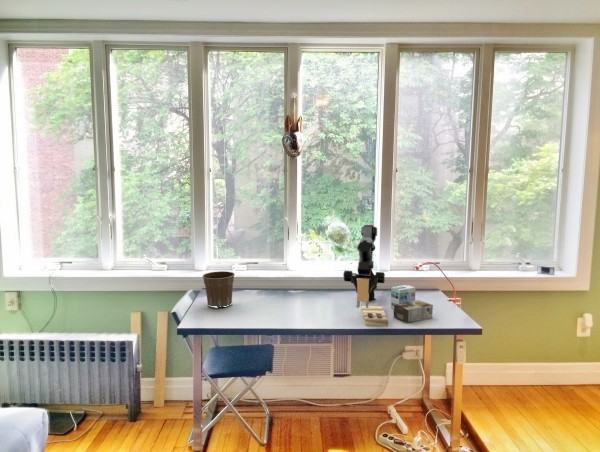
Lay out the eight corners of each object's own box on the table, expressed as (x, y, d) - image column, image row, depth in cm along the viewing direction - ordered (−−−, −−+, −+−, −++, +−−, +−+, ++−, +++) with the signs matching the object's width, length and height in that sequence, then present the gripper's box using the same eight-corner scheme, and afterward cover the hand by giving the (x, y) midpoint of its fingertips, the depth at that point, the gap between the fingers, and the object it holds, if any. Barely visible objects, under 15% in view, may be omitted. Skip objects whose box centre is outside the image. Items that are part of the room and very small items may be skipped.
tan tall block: (357, 304, 197) (358, 278, 196) (368, 305, 196) (369, 278, 195) (356, 307, 193) (357, 280, 192) (368, 307, 192) (368, 280, 191)
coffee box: (418, 312, 207) (392, 317, 199) (419, 299, 206) (393, 304, 199) (432, 317, 199) (406, 323, 192) (433, 304, 198) (407, 309, 191)
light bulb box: (399, 311, 209) (399, 290, 207) (390, 307, 214) (390, 286, 213) (415, 308, 213) (416, 287, 212) (406, 304, 219) (407, 284, 218)
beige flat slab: (360, 309, 211) (360, 304, 211) (381, 310, 211) (381, 305, 210) (365, 325, 189) (365, 320, 189) (387, 325, 189) (387, 320, 188)
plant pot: (196, 307, 215) (195, 276, 214) (214, 299, 230) (213, 270, 228) (224, 311, 209) (223, 279, 207) (241, 302, 224) (240, 272, 222)
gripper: (343, 253, 198) (340, 282, 188) (384, 255, 194) (383, 285, 184) (345, 266, 206) (342, 295, 197) (385, 268, 202) (383, 297, 193)
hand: (362, 292), depth 193 cm, fingers closed on tan tall block, 5 cm apart
